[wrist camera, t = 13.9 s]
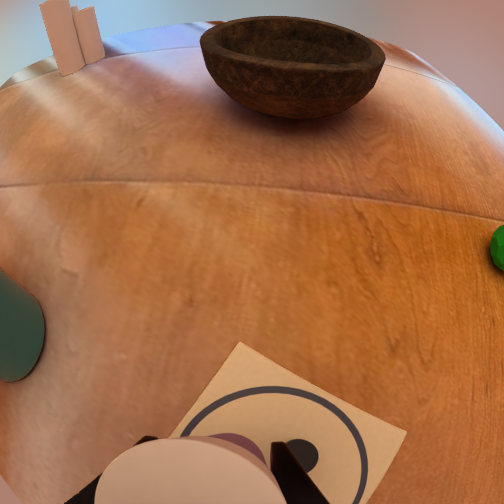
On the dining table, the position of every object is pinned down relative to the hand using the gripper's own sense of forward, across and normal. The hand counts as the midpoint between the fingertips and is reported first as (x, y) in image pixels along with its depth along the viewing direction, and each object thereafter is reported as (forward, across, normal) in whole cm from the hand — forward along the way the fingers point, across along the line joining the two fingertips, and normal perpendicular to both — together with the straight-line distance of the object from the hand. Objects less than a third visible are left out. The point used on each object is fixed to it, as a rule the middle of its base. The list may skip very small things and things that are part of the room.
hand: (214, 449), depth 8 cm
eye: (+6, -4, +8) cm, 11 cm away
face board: (+6, -2, +10) cm, 12 cm away
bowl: (+34, -6, -18) cm, 40 cm away
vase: (+54, +37, -38) cm, 76 cm away
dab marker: (+4, 0, +6) cm, 7 cm away
